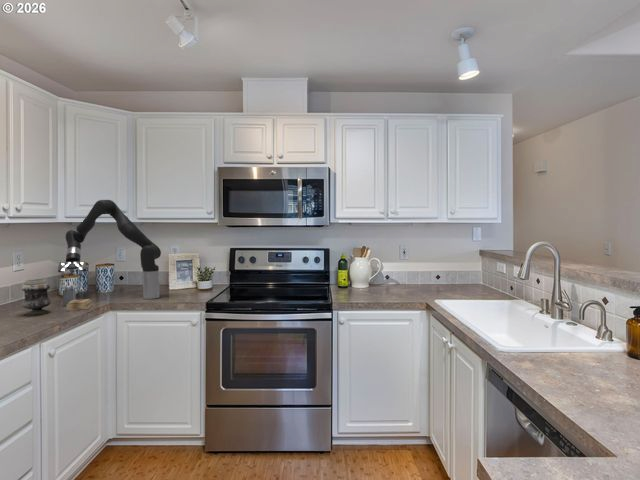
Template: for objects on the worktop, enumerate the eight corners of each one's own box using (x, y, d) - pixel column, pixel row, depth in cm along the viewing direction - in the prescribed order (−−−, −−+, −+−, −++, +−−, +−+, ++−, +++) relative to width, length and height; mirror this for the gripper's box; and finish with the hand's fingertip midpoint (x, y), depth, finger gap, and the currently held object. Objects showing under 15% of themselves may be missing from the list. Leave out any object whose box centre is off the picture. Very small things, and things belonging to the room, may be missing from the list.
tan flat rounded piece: (91, 305, 210) (91, 298, 209) (88, 309, 200) (87, 302, 200) (71, 307, 206) (70, 300, 206) (66, 311, 196) (66, 303, 196)
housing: (76, 303, 214) (75, 285, 214) (74, 305, 209) (73, 286, 208) (64, 304, 212) (64, 285, 211) (62, 306, 207) (61, 287, 206)
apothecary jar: (46, 309, 200) (45, 277, 199) (55, 312, 193) (53, 279, 192) (18, 314, 190) (17, 280, 189) (27, 317, 183) (25, 282, 182)
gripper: (58, 252, 224) (56, 273, 214) (86, 251, 230) (84, 271, 221) (60, 260, 229) (58, 280, 219) (87, 259, 235) (86, 279, 226)
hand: (71, 276), depth 220 cm, fingers open, 8 cm apart
